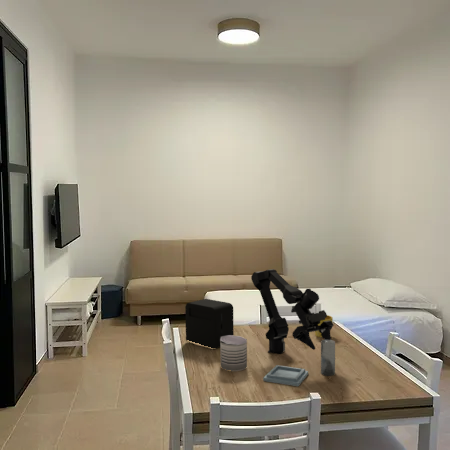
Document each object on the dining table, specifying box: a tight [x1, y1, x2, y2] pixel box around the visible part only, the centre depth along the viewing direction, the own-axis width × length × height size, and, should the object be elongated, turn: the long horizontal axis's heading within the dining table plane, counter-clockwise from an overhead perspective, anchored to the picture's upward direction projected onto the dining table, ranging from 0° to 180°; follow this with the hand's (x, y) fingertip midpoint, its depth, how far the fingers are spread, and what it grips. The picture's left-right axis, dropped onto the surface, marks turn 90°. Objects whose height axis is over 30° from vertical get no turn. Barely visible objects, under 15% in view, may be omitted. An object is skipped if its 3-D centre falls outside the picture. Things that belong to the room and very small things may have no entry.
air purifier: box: [184, 298, 235, 349], centre depth 237 cm, size 20×15×20 cm
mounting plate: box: [262, 364, 309, 387], centre depth 191 cm, size 14×14×2 cm
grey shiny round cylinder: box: [320, 339, 336, 377], centre depth 195 cm, size 6×6×13 cm
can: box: [219, 335, 248, 372], centre depth 204 cm, size 11×11×12 cm
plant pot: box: [314, 314, 334, 338], centre depth 248 cm, size 10×10×10 cm
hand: (323, 347), depth 197 cm, fingers open, 9 cm apart
